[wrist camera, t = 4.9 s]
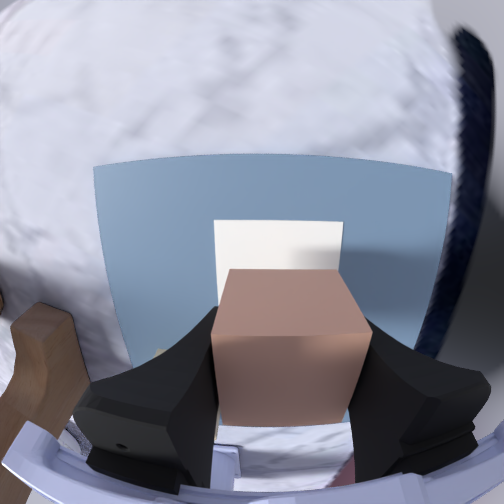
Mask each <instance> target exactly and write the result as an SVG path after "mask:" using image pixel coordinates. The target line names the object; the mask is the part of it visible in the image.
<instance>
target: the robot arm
mask: <svg viewBox="0 0 504 504" xmlns="http://www.w3.org/2000/svg"><path fill="white" fill-rule="evenodd" d="M218 307H219V306H214V307H213V308H212V309H211V310H210V311H209V312H208V313H207V314H206V316H205V317H204V318H203V319H202V320H201V321H200V322H199V323H198V324H197V325H196V326H195V327H194V328H193V329H192V330H191V331H190V332H189V333H188V334H186V335H185V336H184V337H183V338H182V339H181V340H179V341H178V342H177V343H176V344H175V345H173V346H172V347H171V348H169V349H168V350H166V351H165V352H163V353H162V354H160V355H158V356H157V357H155V358H153V359H151V360H149V361H148V362H146V363H144V364H142V365H140V366H138V367H136V368H133V369H131V370H129V371H126V372H124V373H121V374H119V375H116V376H113V377H109V378H106V379H102V380H99V381H95V382H91V383H90V384H89V385H88V387H87V388H86V390H85V391H84V393H83V395H82V396H81V398H80V399H79V401H78V403H77V404H76V406H75V408H74V410H73V412H72V414H73V418H74V421H75V422H76V424H77V426H78V427H79V428H80V430H81V431H82V432H83V434H84V435H85V436H86V438H87V439H88V440H89V441H90V443H91V444H92V445H93V447H92V449H91V451H90V454H89V456H88V457H86V456H83V455H81V454H79V453H77V452H74V451H72V450H70V449H68V448H66V447H64V446H61V445H60V443H59V442H58V440H57V439H56V438H55V437H54V436H53V435H52V434H50V433H49V432H48V431H46V430H45V429H43V428H41V427H39V426H37V425H35V424H34V423H32V422H30V421H26V423H25V424H24V426H23V427H22V429H21V430H20V432H19V434H18V435H17V437H16V438H15V440H14V442H13V443H12V445H11V446H10V448H9V450H8V451H7V453H6V455H5V457H4V458H3V460H2V465H3V466H4V467H6V468H7V469H8V470H9V471H10V472H11V473H13V474H14V475H15V476H16V477H17V478H19V479H20V480H21V481H22V482H24V483H25V484H26V485H28V486H29V487H30V488H32V489H33V490H35V491H36V492H37V493H39V494H40V495H42V496H43V497H45V498H46V499H48V500H50V501H51V502H53V503H55V504H470V503H472V502H474V501H476V500H477V499H479V498H480V497H482V496H483V495H485V494H486V493H488V492H489V491H491V490H492V489H493V488H495V487H496V486H498V485H499V484H500V483H502V482H503V481H504V420H503V421H502V422H501V423H500V424H499V425H498V426H497V428H496V429H495V430H494V432H493V433H491V434H489V435H487V436H486V437H484V438H482V439H480V440H478V441H476V439H475V437H474V435H473V433H472V431H473V430H474V429H475V425H474V423H473V422H472V421H473V419H474V418H475V417H476V416H477V414H478V413H479V412H480V410H481V409H482V408H483V406H484V405H485V403H486V402H487V400H488V398H489V396H490V393H491V386H490V384H489V383H488V381H487V380H486V378H485V377H484V376H483V374H482V373H481V372H480V371H475V370H469V369H465V368H460V367H455V366H452V365H449V364H446V363H443V362H440V361H437V360H435V359H432V358H430V357H428V356H425V355H423V354H421V353H419V352H417V351H415V350H413V349H411V348H409V347H407V346H406V345H404V344H402V343H401V342H399V341H397V340H396V339H394V338H393V337H391V336H390V335H388V334H387V333H386V332H384V331H383V330H381V329H380V328H379V327H377V326H376V325H375V324H373V323H372V322H371V321H370V320H368V319H367V318H366V317H365V316H364V317H365V319H366V321H367V323H368V324H369V326H370V328H371V330H372V332H373V333H372V337H371V340H370V344H369V347H368V350H367V354H366V357H365V360H364V363H363V366H362V369H361V372H360V375H359V378H358V381H357V384H356V387H355V389H354V392H353V395H352V398H351V400H350V403H349V405H348V412H349V418H350V424H351V430H352V438H353V447H354V460H355V484H351V485H345V486H339V487H332V488H324V489H315V490H305V491H289V492H243V491H233V488H234V478H241V471H240V462H239V452H238V448H237V447H232V446H219V445H214V438H215V429H216V421H217V413H218V408H219V396H218V389H217V382H216V374H215V366H214V358H213V349H212V340H211V332H212V328H213V325H214V321H215V318H216V314H217V311H218Z"/></svg>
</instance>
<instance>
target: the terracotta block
mask: <svg viewBox="0 0 504 504" xmlns="http://www.w3.org/2000/svg"><path fill="white" fill-rule="evenodd" d="M372 333H373V332H372V330H371V328H370V326H369V324H368V323H367V321H366V319H365V317H364V315H363V314H362V312H361V310H360V308H359V307H358V305H357V303H356V301H355V300H354V298H353V296H352V294H351V293H350V291H349V289H348V287H347V286H346V284H345V282H344V281H343V279H342V277H341V276H340V274H339V272H338V271H337V269H229V272H228V276H227V279H226V283H225V286H224V290H223V293H222V297H221V300H220V304H219V307H218V311H217V314H216V318H215V321H214V325H213V328H212V332H211V340H212V349H213V358H214V366H215V374H216V382H217V389H218V396H219V403H220V410H221V417H222V423H223V425H229V426H250V427H289V426H309V425H322V424H333V423H341V422H342V420H343V418H344V415H345V413H346V410H347V408H348V405H349V403H350V400H351V398H352V395H353V392H354V389H355V387H356V384H357V381H358V378H359V375H360V372H361V369H362V366H363V363H364V360H365V357H366V354H367V350H368V347H369V344H370V340H371V337H372Z"/></svg>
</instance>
